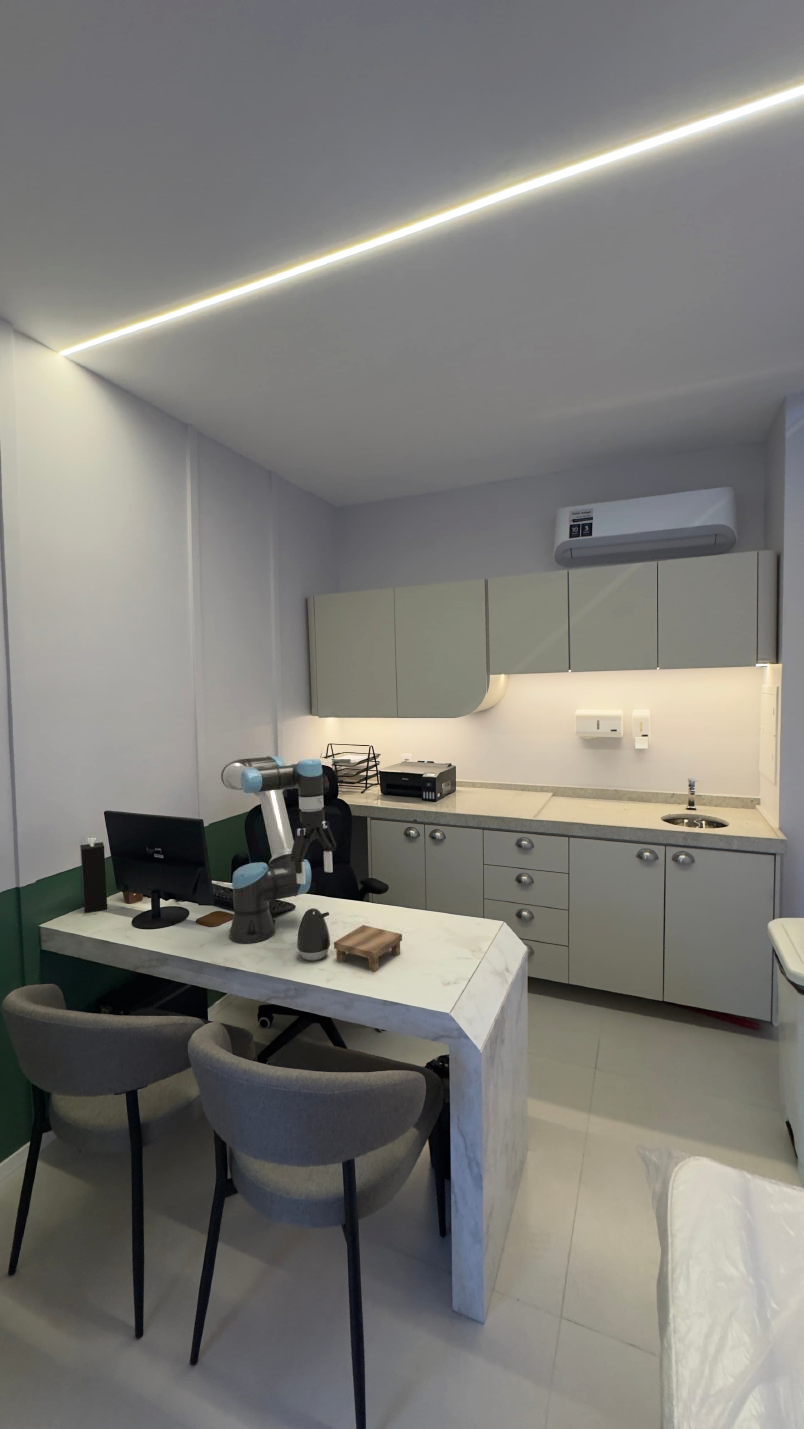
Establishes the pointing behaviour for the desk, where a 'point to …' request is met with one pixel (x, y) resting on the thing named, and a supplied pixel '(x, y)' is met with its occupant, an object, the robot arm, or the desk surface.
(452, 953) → the desk surface
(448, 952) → the desk surface
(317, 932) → the pump dispenser
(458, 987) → the desk surface
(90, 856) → the tissue box
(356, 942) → the walnut footstool
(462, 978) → the desk surface
